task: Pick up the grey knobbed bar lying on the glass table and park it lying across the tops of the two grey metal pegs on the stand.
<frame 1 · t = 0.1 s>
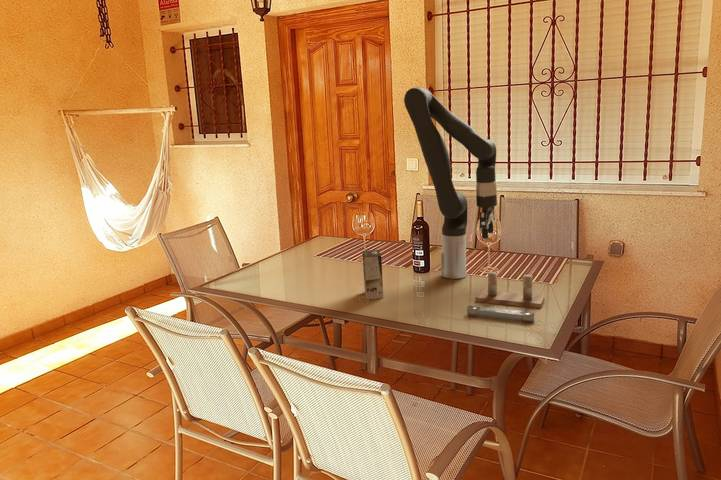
hand: (487, 235, 223), 17 cm above the table, tool pointing down, fingers open, 8 cm apart
coffee box: (373, 295, 216), on the table
grey knobbed bar: (499, 317, 189), on the table
peg stand: (509, 300, 203), on the table
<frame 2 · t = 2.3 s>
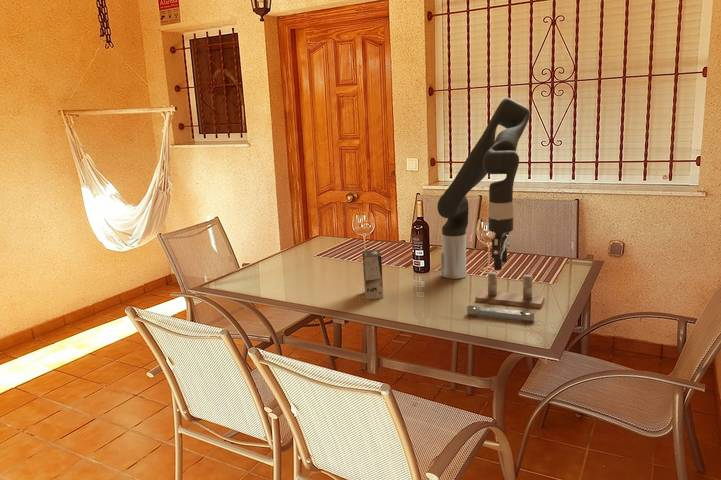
hand: (500, 265, 185), 17 cm above the table, tool pointing down, fingers open, 8 cm apart
nothing on the table moved.
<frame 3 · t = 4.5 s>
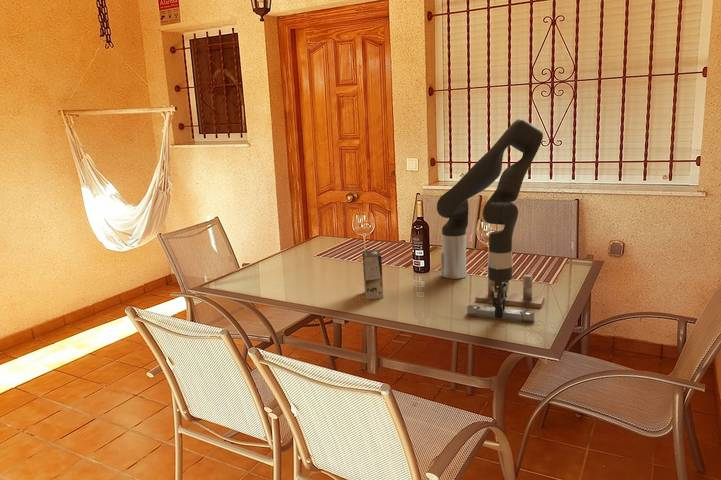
hand: (499, 315, 189), 1 cm above the table, tool pointing down, fingers closed on grey knobbed bar, 3 cm apart
grey knobbed bar: (499, 317, 189), on the table, touching gripper
everything else where it was.
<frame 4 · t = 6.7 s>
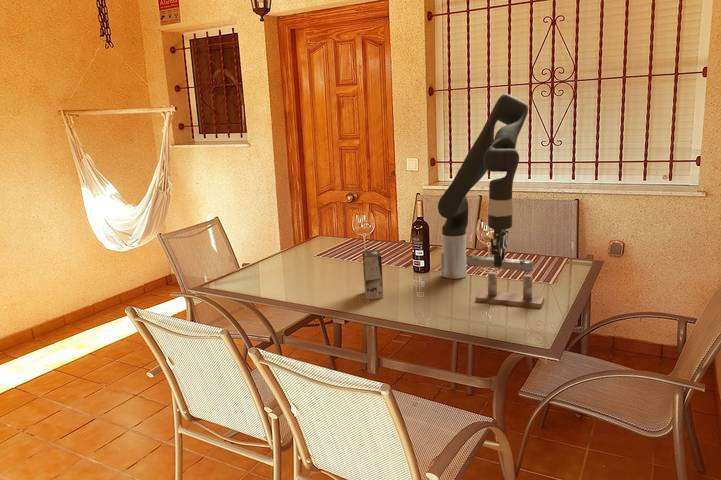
hand: (499, 264, 188), 17 cm above the table, tool pointing down, fingers closed on grey knobbed bar, 3 cm apart
grey knobbed bar: (499, 266, 189), point 16 cm above the table, touching gripper
everything else where it was.
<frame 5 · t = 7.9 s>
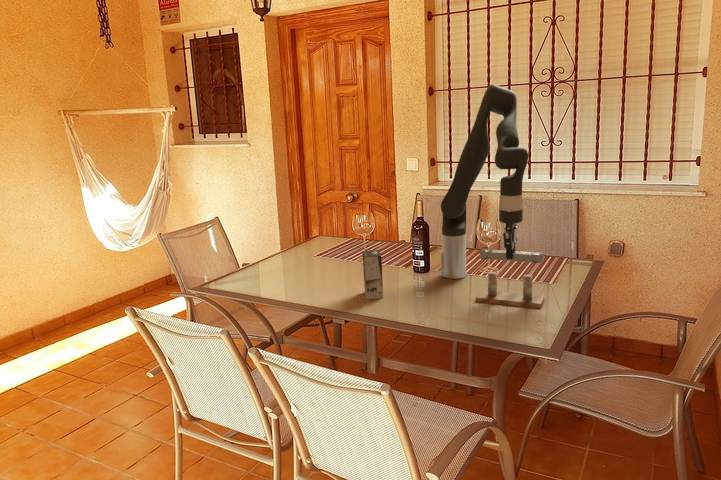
hand: (510, 257, 199), 16 cm above the table, tool pointing down, fingers closed on grey knobbed bar, 3 cm apart
grey knobbed bar: (510, 259, 199), point 15 cm above the table, touching gripper
everything else where it was.
when the fingers open (11 cm above the table, at t = 9.1 s): grey knobbed bar drops 1 cm, resting on peg stand.
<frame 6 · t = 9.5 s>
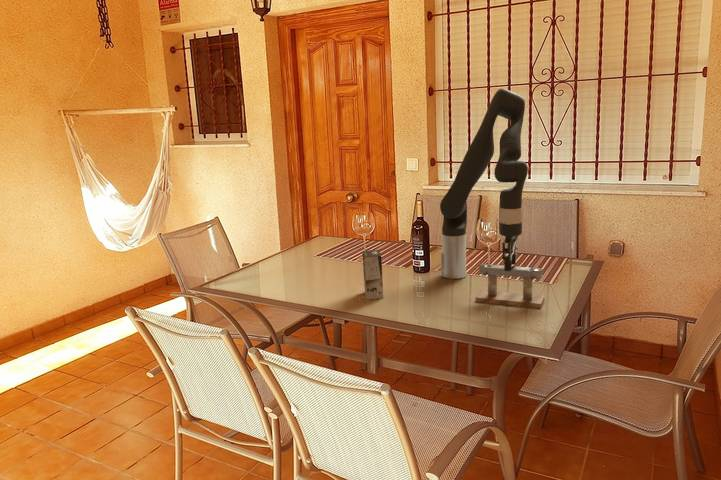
hand: (510, 267, 200), 12 cm above the table, tool pointing down, fingers open, 7 cm apart
grey knobbed bar: (510, 274, 201), point 9 cm above the table, touching peg stand
everything else where it was.
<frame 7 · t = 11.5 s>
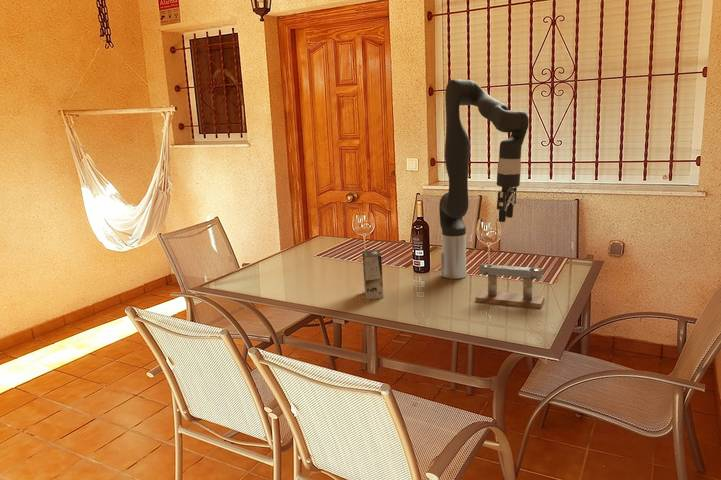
hand: (505, 219, 199), 28 cm above the table, tool pointing down, fingers open, 8 cm apart
nothing on the table moved.
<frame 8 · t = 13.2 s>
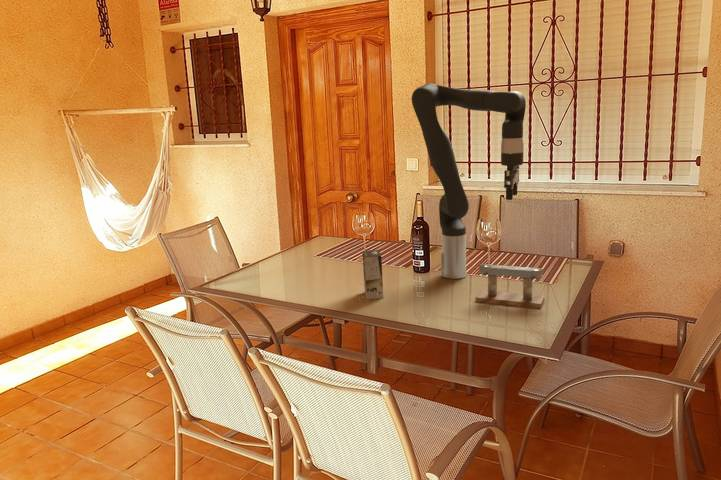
hand: (511, 197, 206), 34 cm above the table, tool pointing down, fingers open, 8 cm apart
nothing on the table moved.
at the end: grey knobbed bar 0.0 cm off-centre on the peg stand, point 9.5 cm above the peg stand's base; grey knobbed bar touching peg stand; the gripper is holding nothing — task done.
